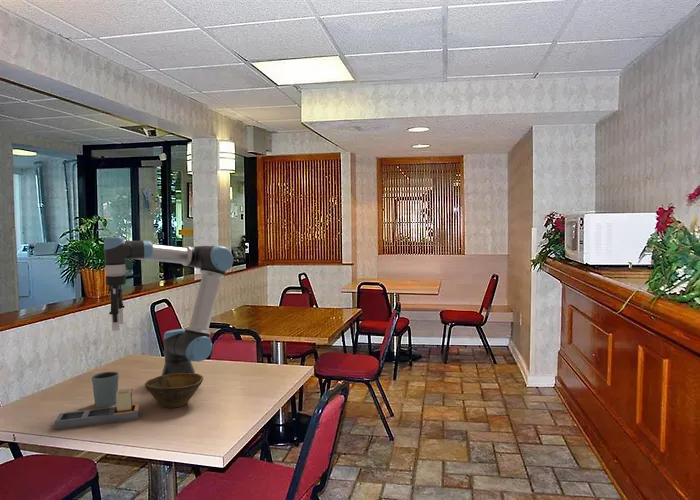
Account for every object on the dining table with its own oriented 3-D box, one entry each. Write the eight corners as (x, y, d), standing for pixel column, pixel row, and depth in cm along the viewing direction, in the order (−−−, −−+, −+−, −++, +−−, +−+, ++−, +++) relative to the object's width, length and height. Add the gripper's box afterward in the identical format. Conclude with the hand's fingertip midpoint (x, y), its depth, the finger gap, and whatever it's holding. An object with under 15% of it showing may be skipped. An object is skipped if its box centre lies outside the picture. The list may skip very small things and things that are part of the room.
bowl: (186, 391, 232) (185, 368, 231) (213, 403, 216) (212, 379, 215) (136, 404, 217) (135, 380, 216) (162, 418, 200) (160, 392, 200)
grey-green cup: (93, 409, 212) (91, 379, 211) (92, 402, 221) (91, 373, 220) (120, 404, 216) (119, 375, 216) (119, 397, 225) (117, 369, 225)
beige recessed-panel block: (132, 414, 205) (131, 387, 205) (131, 418, 201) (130, 391, 200) (118, 415, 204) (117, 389, 203) (117, 420, 199) (116, 393, 198)
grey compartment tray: (140, 411, 208) (139, 403, 208) (138, 419, 199) (137, 411, 199) (60, 421, 200) (59, 412, 199) (54, 429, 191) (54, 421, 191)
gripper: (109, 272, 225) (111, 322, 226) (100, 278, 202) (103, 333, 203) (128, 272, 228) (130, 321, 229) (122, 277, 204) (124, 332, 205)
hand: (118, 327), depth 216 cm, fingers open, 13 cm apart
